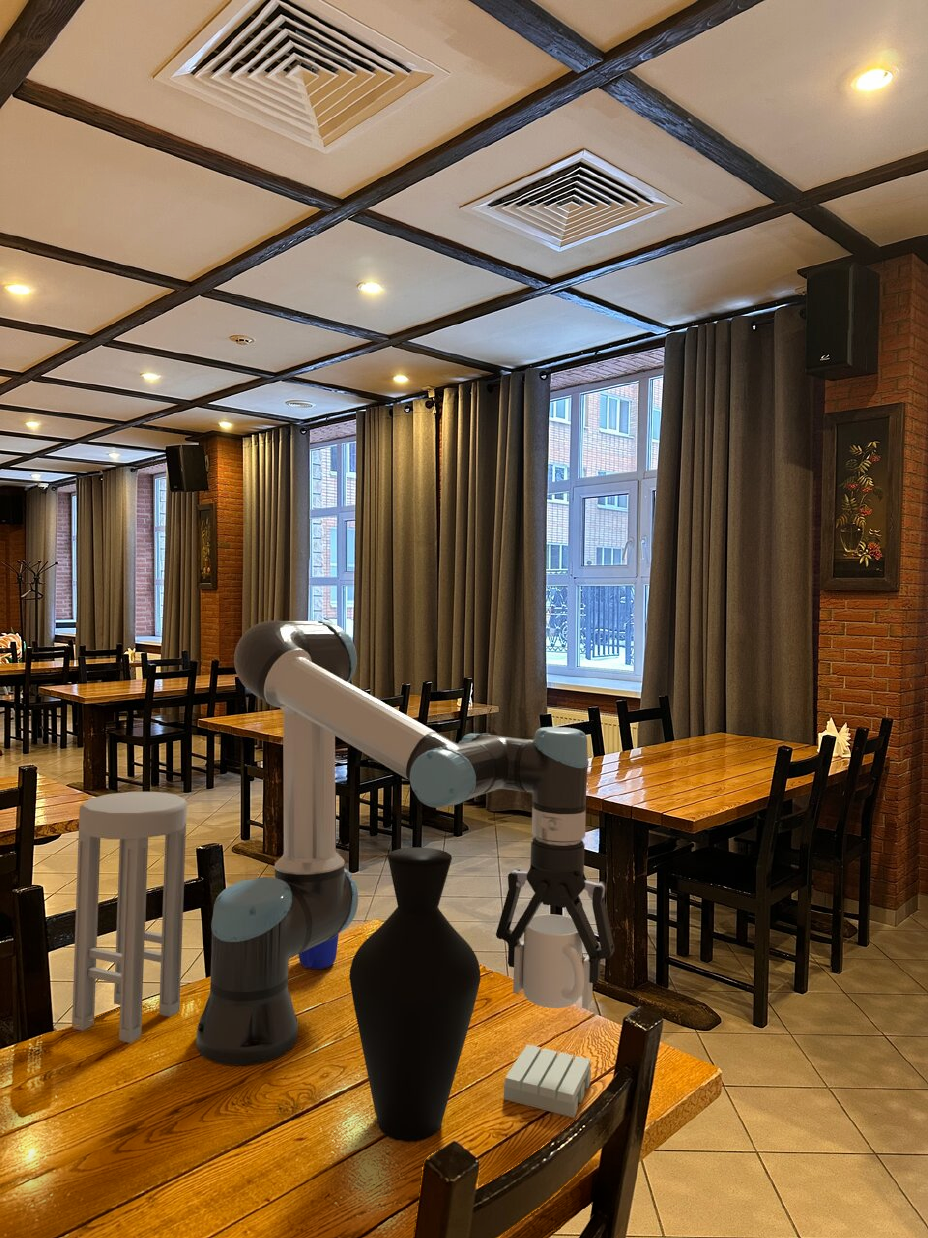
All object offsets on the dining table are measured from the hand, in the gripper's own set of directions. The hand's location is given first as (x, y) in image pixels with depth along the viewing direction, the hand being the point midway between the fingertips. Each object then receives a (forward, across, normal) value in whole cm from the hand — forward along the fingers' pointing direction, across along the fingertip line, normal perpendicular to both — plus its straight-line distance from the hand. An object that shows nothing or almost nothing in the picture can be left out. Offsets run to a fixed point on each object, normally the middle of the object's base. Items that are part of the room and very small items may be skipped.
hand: (552, 997), depth 119 cm
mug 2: (+1, +1, 0) cm, 1 cm away
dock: (+13, 0, 0) cm, 13 cm away
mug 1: (+13, -51, +20) cm, 56 cm away
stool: (+13, -67, -10) cm, 69 cm away
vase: (+14, -15, -15) cm, 25 cm away
